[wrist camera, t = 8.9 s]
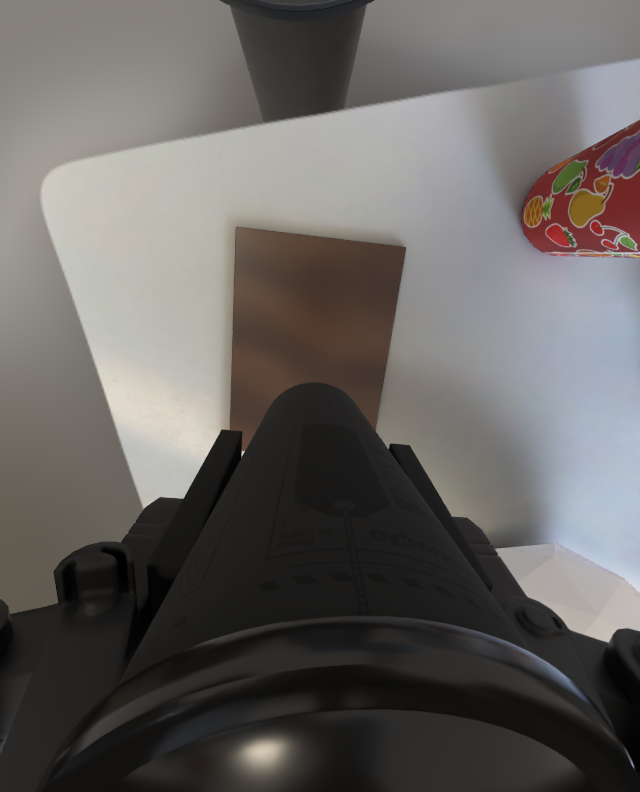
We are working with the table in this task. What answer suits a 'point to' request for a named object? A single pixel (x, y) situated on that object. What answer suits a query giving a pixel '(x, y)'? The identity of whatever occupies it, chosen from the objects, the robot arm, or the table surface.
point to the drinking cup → (334, 646)
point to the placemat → (309, 319)
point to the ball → (575, 589)
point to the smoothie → (589, 201)
